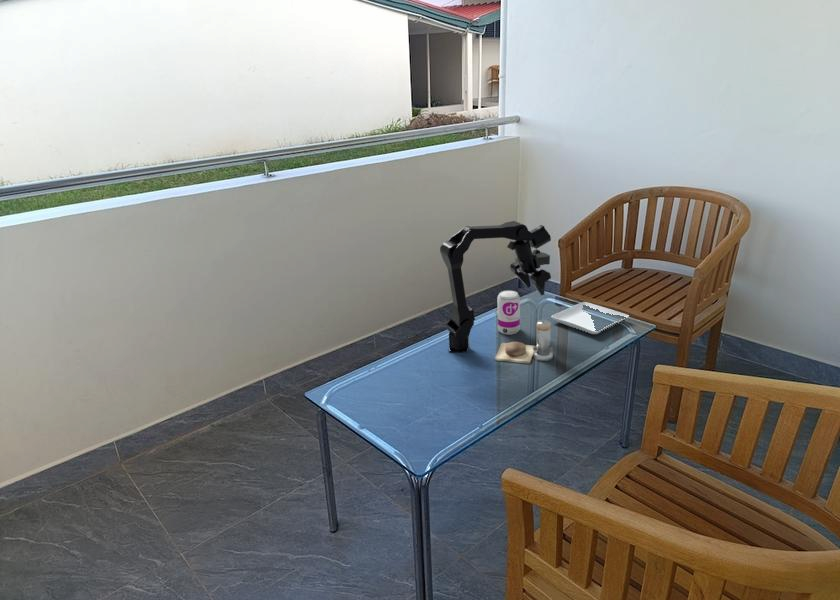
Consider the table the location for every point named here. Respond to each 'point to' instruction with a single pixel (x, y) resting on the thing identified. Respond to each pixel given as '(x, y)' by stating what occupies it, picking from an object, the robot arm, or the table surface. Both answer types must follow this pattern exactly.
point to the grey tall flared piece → (543, 341)
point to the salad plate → (583, 317)
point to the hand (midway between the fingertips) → (535, 290)
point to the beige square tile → (515, 352)
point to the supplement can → (508, 312)
